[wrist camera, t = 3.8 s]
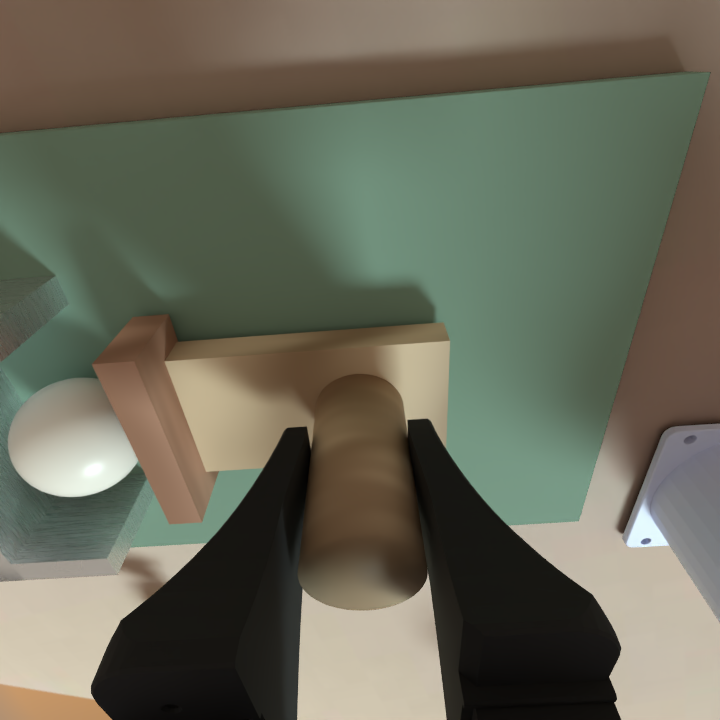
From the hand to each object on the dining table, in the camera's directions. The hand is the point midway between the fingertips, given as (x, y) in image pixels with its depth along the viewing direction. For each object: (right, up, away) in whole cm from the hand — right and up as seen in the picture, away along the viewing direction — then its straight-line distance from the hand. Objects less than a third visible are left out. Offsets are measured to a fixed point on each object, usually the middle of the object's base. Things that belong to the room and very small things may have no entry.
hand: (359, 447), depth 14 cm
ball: (-9, 0, +2) cm, 10 cm away
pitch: (-2, +2, +4) cm, 5 cm away
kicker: (-2, +2, +3) cm, 4 cm away
